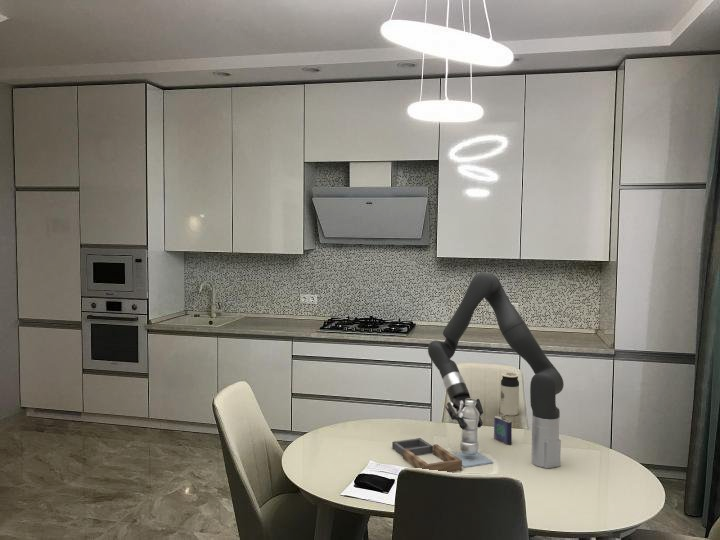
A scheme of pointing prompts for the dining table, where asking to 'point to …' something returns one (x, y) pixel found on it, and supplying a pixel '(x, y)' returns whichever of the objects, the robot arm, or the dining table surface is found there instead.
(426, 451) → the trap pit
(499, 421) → the flask
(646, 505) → the dining table surface
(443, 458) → the walled lane
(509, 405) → the travel mug
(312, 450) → the dining table surface
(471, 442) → the plastic bottle
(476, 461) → the pad
